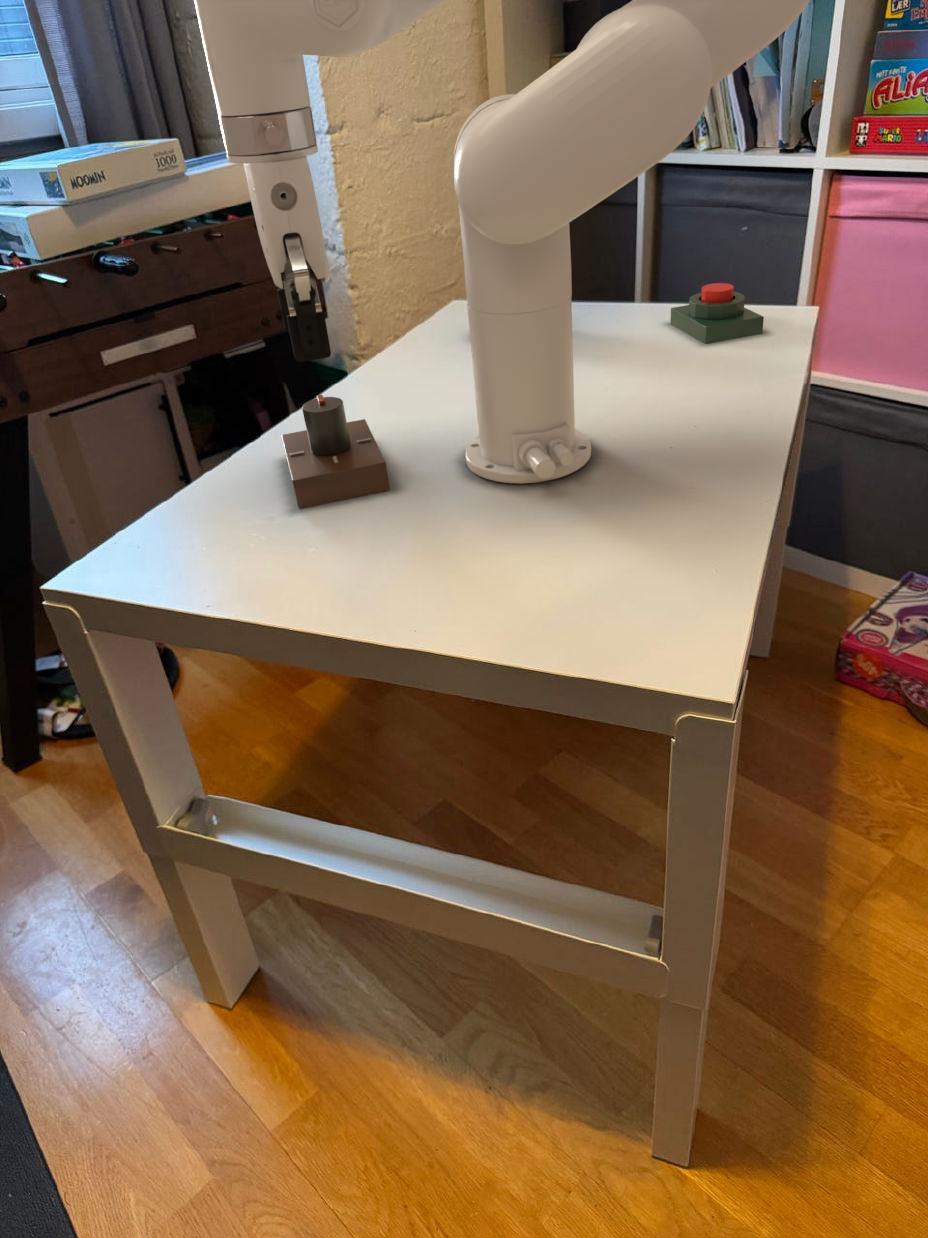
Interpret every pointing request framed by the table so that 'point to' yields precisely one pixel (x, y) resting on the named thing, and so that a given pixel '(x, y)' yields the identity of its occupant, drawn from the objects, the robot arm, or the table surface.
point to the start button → (717, 293)
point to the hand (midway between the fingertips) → (307, 343)
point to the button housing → (716, 319)
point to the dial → (326, 425)
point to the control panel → (335, 468)
